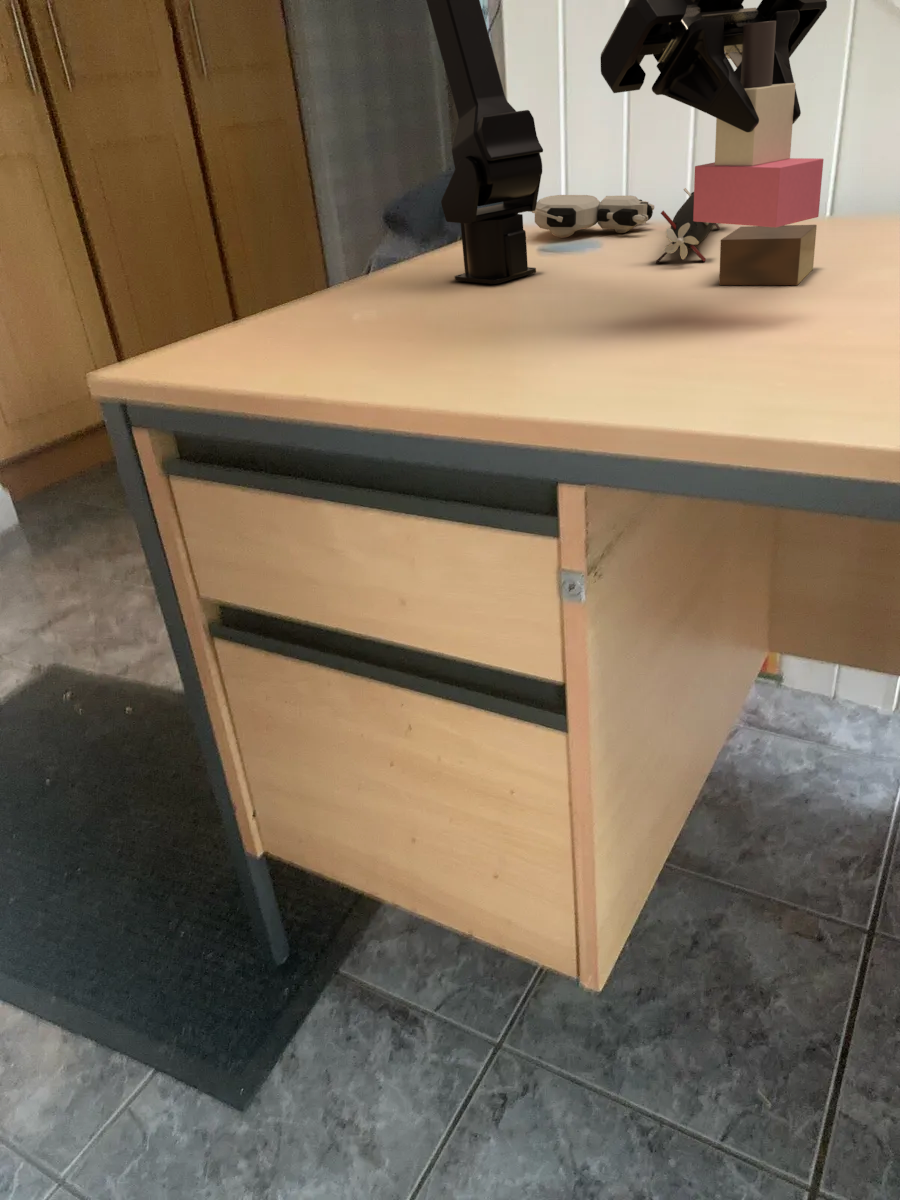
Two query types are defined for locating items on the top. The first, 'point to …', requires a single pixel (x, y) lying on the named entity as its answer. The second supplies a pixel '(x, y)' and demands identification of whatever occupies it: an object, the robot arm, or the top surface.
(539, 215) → the robot toy
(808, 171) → the pink and tan tower
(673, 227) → the submarine model
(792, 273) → the block
